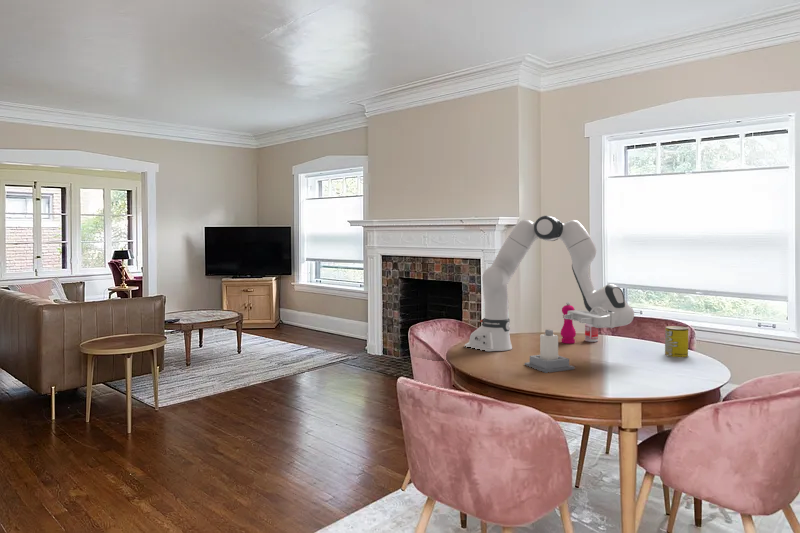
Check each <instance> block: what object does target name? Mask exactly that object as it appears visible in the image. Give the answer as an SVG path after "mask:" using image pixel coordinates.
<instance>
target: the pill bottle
mask: <svg viewBox="0 0 800 533" xmlns="http://www.w3.org/2000/svg"><path fill="white" fill-rule="evenodd" d="M584 340H585V342H589V343H596V342H599V328H596V327H594V326H593V325H591V324H587V323H584Z"/></svg>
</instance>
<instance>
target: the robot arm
mask: <svg viewBox="0 0 800 533" xmlns="http://www.w3.org/2000/svg"><path fill="white" fill-rule="evenodd" d="M538 239H541V240H542V241H546V242H554V241H558V240H561V241H562V242H563V244H564V245H565V247H566V248H567V251H568V254H569V255H570V259H571V270H572V273H573V275H574V278H575V280H576V283H577V287H578V288H579V291H580V293H581V296H582V299H583V305H584V307H585V309H586V310H587V311H586V310H582V309H581V310H580V309H578V310H571V311H568V313H567V315H564V314H563V315H564V318H563V320H564V319H570V320H572V321H575V322H578V323H581V324H586V323H587V324H591V325H593V326H594V327H596V328H598V329H599V328H600V329H601V328H603V329H605V328H606V329H613V328H615V327H616V328H617V327H623V326H627V325H629V324H631V323H632V322H633V320H634V318H635V312H634V309H633V308H632V306H630V305H629V304H628V303H627V301H626V299H625V295H624V293H623V290H622V288H621V287H620V286H618V285H617V284H614V283H608V284H607V285H604V286H602V287H600V288H599V289H597V290H596V289H595V286H594V284H593V282H592V279H591V277H590V275H589V274H590V273H589V270H590V266H591V264H592V263H593V261H594V259H595V257H596V254H597V247H596V244H595V242H594V240H593V239H592V237H591V234H590V233H589V232H588V231H587V230H586V228H585V227H584V225H583V224H582V223H581V222H580V221H578V220H577V219H573V220H572V219H571V220H568V221H566V222H562V221H561V220H560V219H559V218H557V217H555V216H551V215H542V216H540V217H539V218H538V219H536V221H535V222H534V221H532V220H530V219H522V220H520V221H519V222H518V223H517V224H516V225H515V227H514V228H513V229H512V230H511V232H510V233H509V235H508V236H507V238H506V240H505V241H504V243H503V244H502V246H501V248H500V249H499V251H498V253H497V255H496V257H495V259H494V260H493V262H492V264H491V266H490V267H488V268H486V269H485V270H484V272H483V273H482V289H483V296H484V317H483V318H482V319H479V323H481V325H480V326H479V327H478V328H477V329H475V330H474V331H473V332H471V334H470V335H469V340H468V342H467V343H465V344H464V347H465V346H466V347H465V348H467V347H471V348H470V349H472V348H475V349H474V350H477V349H480V350H479V351H482V350H485V351H484V352H501V351H502V352H503V351H510V350H512V349H513V345H512V342H511V341H512V340H511V337H510V329H511V328H510V327H511V326H510V325H511V323H510V321H511V320H510V316H509V306H510V305H509V304H510V302H509V297H508V295H509V294H508V284H509V282H510V281H511V279H512V277H513V276H514V274H515V273H516V270H517V269H518V267H519V266H520V264H521V263H522V260H523V259H524V257H525V256H526V255H527V253H528V252H529V249H530V248H531V247H532V245H533V243H534V242H535V241H536V240H538Z"/></svg>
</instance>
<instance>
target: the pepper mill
mask: <svg viewBox="0 0 800 533" xmlns="http://www.w3.org/2000/svg"><path fill="white" fill-rule="evenodd" d="M571 310H575V307H574V306H573V305H571V302H570V301H567V302H566V305H564V306H563V307H562V308H561V313H562V314H563V315H562V316H563V317H562V318H563V325H562V328H561V330H560V336H561V337H562V338H561V343H562V344H569V345H570V344H571V345H573V344H575V343H576V339H575V337H576V336H577V335H576V332H577V330H576V329H575V326H574V323H573V320H570V319H564V315H567V313H568V311H571Z"/></svg>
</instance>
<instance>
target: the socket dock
mask: <svg viewBox="0 0 800 533" xmlns="http://www.w3.org/2000/svg"><path fill="white" fill-rule="evenodd" d="M523 364H524V366H525V365H527V366H526V367H528V366H529V367H528V368H531V367H532V368H531V369H533V368H534V370H536V369H537V370H536V371H539V372H541V371H542V372H541V373H545V374H549V373H554V372H555V373H556V372H563V371H564V372H565V371H571V370H575V366H574V365H570V358H567V357H565V356H562V355H559V354H558V359H555V360H544V359H541V358H540V354H536V355H535V354H534V355H529V361H527V362H524V363H523ZM548 372H549V373H548Z"/></svg>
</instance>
